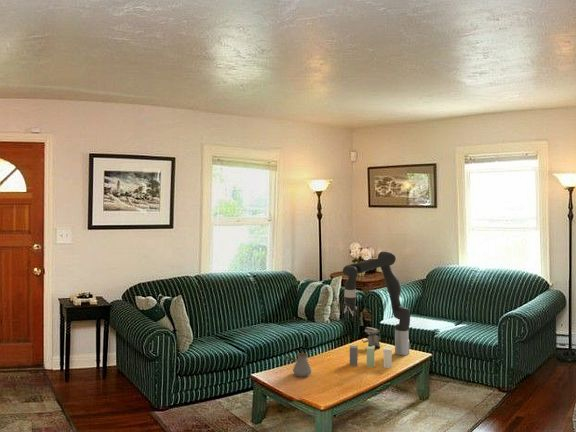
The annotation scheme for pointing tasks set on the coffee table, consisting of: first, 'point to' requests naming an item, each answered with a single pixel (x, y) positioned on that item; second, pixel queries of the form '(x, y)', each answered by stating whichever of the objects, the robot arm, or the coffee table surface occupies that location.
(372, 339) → the figurine
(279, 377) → the coffee table surface
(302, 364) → the coffee pot
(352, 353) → the slate grey pillar
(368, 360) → the sage green pillar
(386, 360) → the off white pillar
